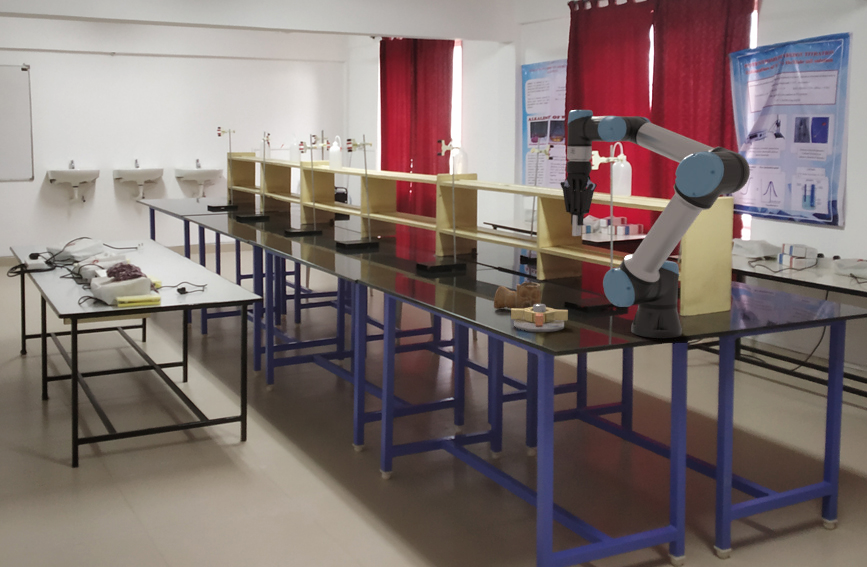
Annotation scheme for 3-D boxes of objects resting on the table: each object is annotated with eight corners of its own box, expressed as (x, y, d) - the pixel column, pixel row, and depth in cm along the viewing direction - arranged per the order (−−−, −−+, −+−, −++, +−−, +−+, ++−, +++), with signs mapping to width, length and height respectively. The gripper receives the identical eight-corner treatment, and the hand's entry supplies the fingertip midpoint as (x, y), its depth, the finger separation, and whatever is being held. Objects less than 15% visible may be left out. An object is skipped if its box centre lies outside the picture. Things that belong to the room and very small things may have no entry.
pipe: (500, 306, 304) (500, 279, 302) (544, 310, 298) (544, 282, 296) (492, 311, 296) (492, 283, 294) (537, 315, 290) (538, 286, 288)
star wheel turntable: (515, 320, 283) (516, 299, 282) (564, 321, 280) (564, 300, 279) (512, 331, 267) (512, 309, 266) (563, 333, 265) (564, 311, 263)
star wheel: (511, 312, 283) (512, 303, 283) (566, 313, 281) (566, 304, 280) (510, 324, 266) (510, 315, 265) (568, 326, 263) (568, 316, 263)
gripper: (555, 160, 267) (553, 234, 271) (587, 161, 258) (585, 238, 262) (570, 159, 272) (568, 232, 276) (603, 160, 262) (600, 236, 267)
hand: (576, 235), depth 269 cm, fingers closed
